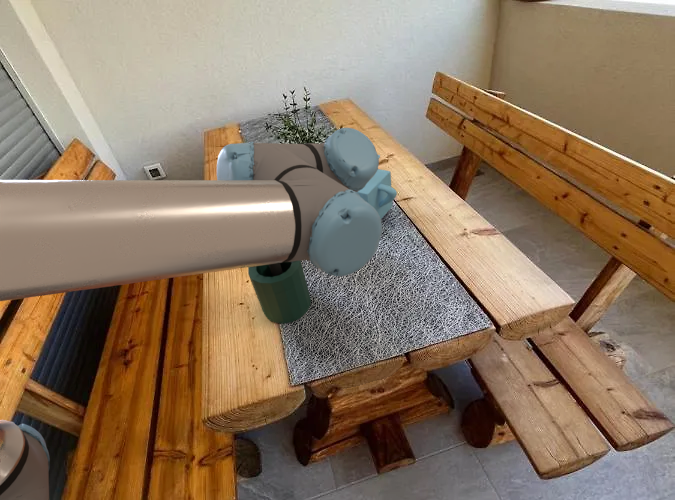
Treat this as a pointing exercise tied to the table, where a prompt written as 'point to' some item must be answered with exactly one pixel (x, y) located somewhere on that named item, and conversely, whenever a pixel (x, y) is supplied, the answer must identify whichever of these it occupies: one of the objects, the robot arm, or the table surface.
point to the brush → (276, 269)
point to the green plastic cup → (281, 291)
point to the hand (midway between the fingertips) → (259, 254)
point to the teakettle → (379, 192)
